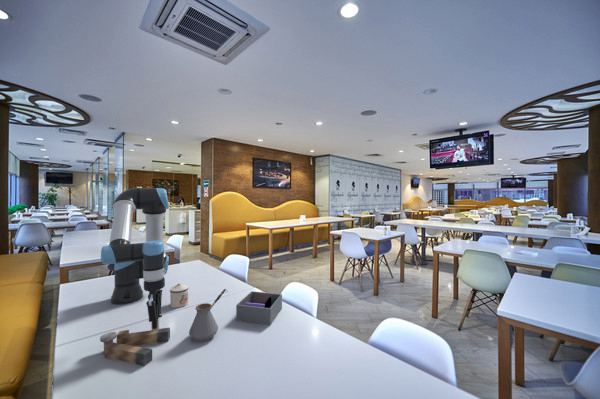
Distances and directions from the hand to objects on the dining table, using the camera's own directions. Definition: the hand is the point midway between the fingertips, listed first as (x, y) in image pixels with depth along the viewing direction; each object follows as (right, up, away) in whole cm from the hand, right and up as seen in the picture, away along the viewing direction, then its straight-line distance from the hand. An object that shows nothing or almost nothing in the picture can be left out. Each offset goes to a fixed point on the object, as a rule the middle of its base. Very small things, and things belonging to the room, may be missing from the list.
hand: (155, 334), depth 104 cm
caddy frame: (+40, -1, +21) cm, 45 cm away
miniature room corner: (+39, -2, +23) cm, 46 cm away
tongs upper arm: (-5, -2, -5) cm, 7 cm away
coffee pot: (+21, -2, +6) cm, 22 cm away
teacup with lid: (-5, -1, +33) cm, 33 cm away
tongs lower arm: (-4, -2, -12) cm, 13 cm away
